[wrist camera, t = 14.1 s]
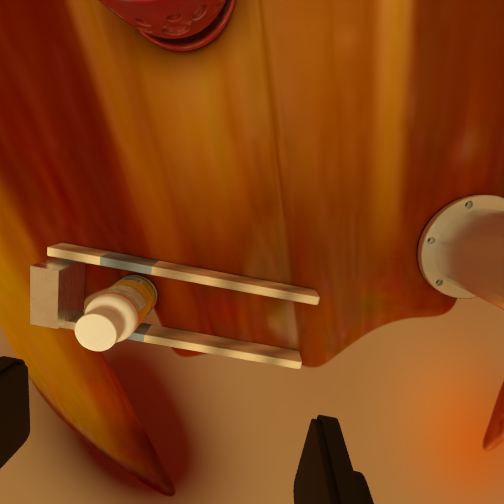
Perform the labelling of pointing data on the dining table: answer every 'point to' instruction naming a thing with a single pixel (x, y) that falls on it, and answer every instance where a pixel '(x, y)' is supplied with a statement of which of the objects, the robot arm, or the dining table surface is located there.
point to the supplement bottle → (116, 313)
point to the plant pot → (175, 20)
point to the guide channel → (72, 303)
